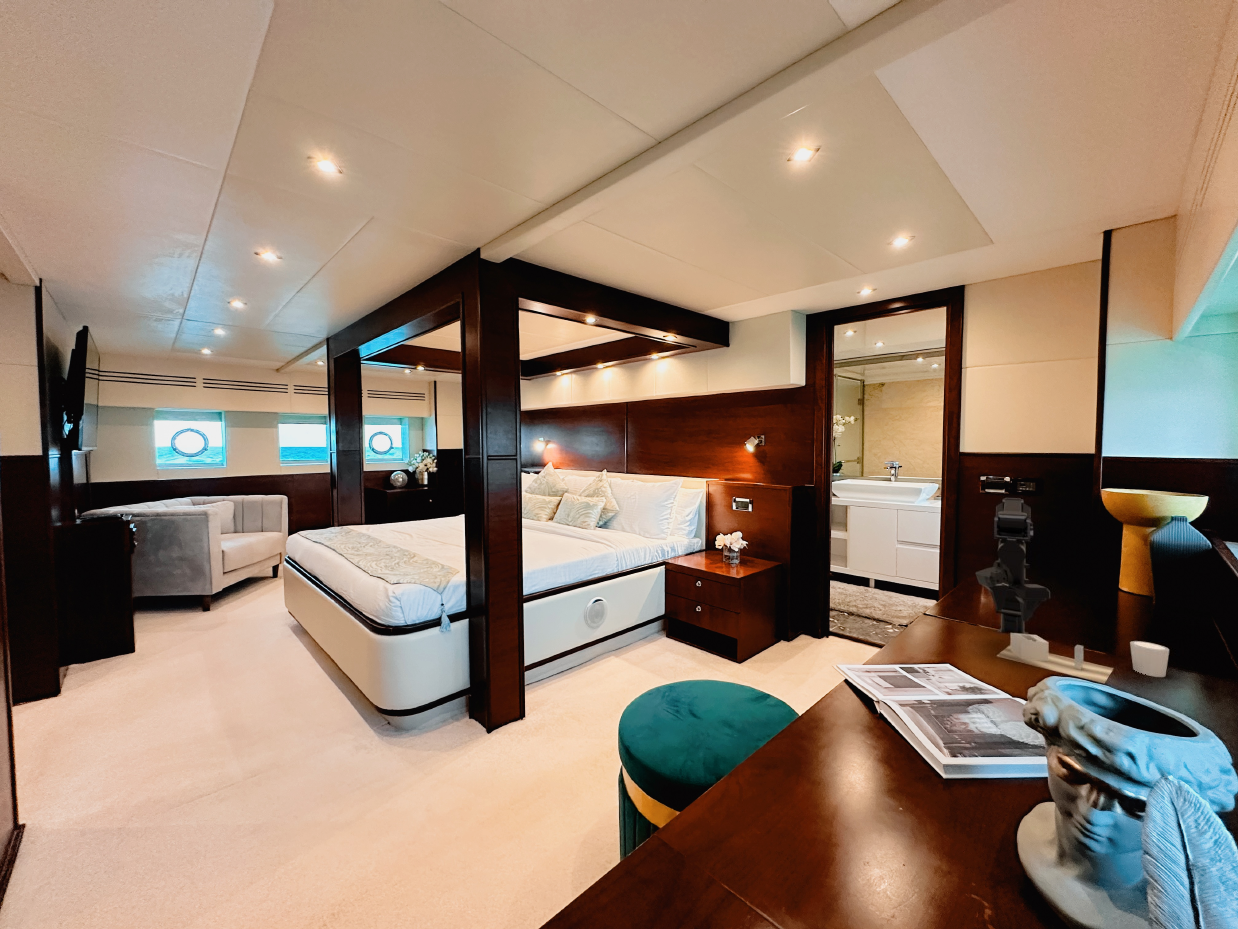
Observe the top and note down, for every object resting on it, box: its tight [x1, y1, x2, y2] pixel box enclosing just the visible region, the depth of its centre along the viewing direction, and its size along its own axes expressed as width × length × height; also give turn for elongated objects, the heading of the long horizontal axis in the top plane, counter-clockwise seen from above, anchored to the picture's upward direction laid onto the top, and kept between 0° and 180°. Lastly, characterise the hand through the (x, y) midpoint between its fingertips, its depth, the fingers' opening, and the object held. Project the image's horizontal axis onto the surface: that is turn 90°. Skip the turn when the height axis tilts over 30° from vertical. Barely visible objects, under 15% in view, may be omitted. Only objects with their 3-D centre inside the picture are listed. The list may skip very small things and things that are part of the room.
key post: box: [1074, 644, 1084, 670], centre depth 125 cm, size 3×1×6 cm, turn 128°
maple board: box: [996, 644, 1114, 684], centre depth 129 cm, size 14×21×2 cm, turn 38°
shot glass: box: [1129, 640, 1170, 678], centre depth 126 cm, size 7×7×7 cm
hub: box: [1010, 633, 1050, 662], centre depth 133 cm, size 6×6×5 cm
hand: (1011, 615), depth 135 cm, fingers open, 9 cm apart
